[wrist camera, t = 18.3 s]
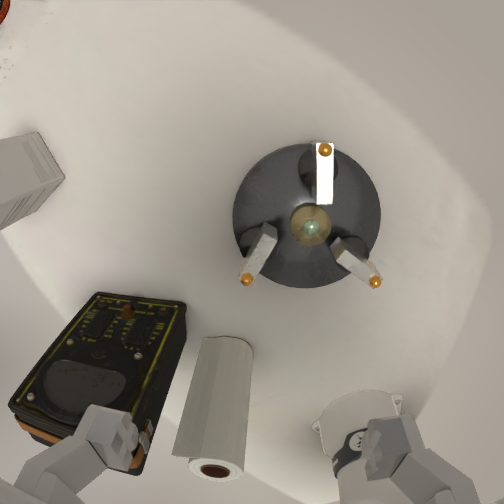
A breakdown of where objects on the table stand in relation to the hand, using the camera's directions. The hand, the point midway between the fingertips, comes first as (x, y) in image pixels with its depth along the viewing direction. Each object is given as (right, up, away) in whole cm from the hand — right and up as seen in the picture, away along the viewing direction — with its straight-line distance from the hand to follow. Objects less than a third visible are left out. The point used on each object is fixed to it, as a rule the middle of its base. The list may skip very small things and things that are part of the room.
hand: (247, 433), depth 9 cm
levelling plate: (+7, +10, +29) cm, 32 cm away
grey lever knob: (+7, +15, +25) cm, 30 cm away
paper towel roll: (-3, -9, +38) cm, 39 cm away
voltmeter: (-17, -4, +36) cm, 40 cm away
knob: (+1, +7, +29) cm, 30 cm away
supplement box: (-32, +18, +28) cm, 46 cm away
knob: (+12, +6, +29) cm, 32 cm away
